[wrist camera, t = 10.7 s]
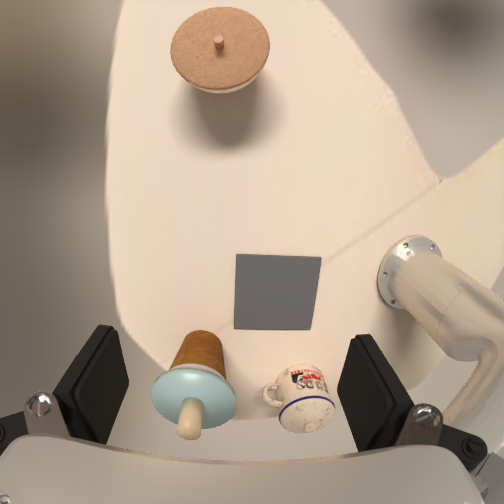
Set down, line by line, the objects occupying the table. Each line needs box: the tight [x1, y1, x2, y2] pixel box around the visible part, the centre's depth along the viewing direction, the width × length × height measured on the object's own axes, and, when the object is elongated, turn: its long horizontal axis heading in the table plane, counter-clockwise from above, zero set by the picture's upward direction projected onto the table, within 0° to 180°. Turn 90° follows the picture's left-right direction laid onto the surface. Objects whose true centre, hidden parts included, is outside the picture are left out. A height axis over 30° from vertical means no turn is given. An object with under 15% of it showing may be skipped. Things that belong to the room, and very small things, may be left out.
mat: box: [234, 254, 321, 330], centre depth 44 cm, size 12×12×1 cm
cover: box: [151, 367, 236, 440], centre depth 32 cm, size 11×11×6 cm
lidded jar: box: [171, 7, 270, 93], centre depth 29 cm, size 11×11×9 cm
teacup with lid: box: [262, 364, 335, 433], centre depth 44 cm, size 12×9×12 cm
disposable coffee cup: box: [169, 330, 226, 381], centre depth 41 cm, size 10×10×12 cm
